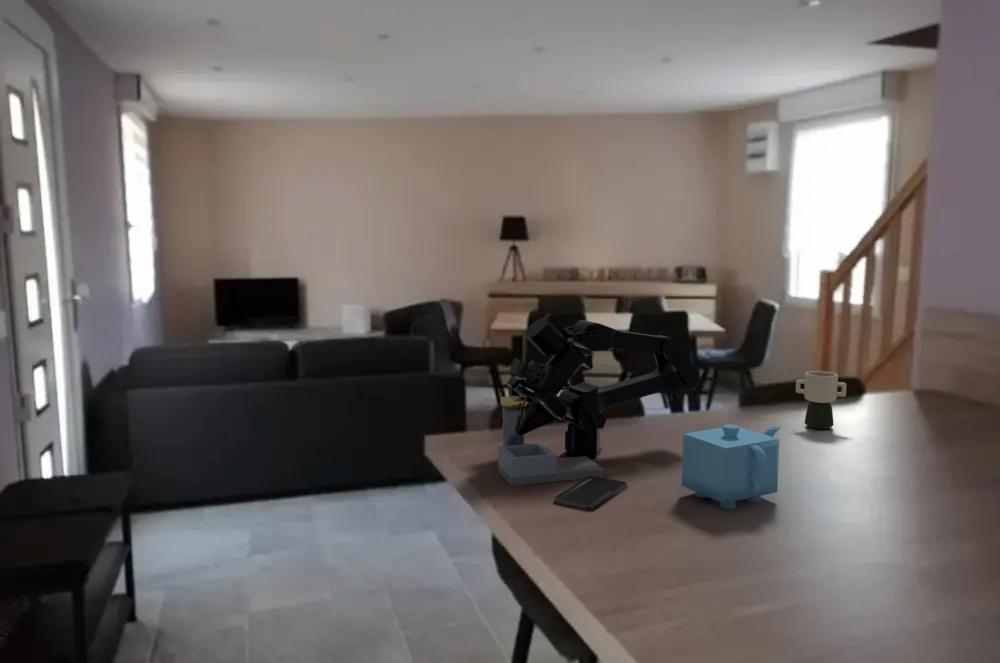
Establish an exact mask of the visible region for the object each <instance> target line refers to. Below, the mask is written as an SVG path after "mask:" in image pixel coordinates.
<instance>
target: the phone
mask: <svg viewBox="0 0 1000 663" xmlns="http://www.w3.org/2000/svg"><path fill="white" fill-rule="evenodd" d="M626 489H628V482H626V481H622V480H618V479H611V478H605V477H597V476H590V477H588V478H584V479H582V480H581V481H580V482H578V483H576V484H574V485H573V486H571V487H569V488H568V489H566V490H564V491H562V492H561V493H559V494H558V495H556V496H554V504H556V505H561V506H565V507H568V508H574V509H578V510H583V511H587V512H591V511H593V512H594V511H596V510H597V509H599V508H601V507H602V506H604V505H605V504H606V503H608V502H609V501H610V500H613V498H615V497H617V495H619V494H621V493H622V492H623V491H624V492H625V490H626Z"/></svg>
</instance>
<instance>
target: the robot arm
mask: <svg viewBox="0 0 1000 663" xmlns="http://www.w3.org/2000/svg"><path fill="white" fill-rule="evenodd" d="M525 337H526V338H527V340H529V341H530V342H531V344H532V345H533V346H535V348H537V350H538V351H539V352H540V353H542V355H543V356H552V357H551V358H550V359H549V360H548V361H546V363H540V362H538V361H535V360H532V359H531V360H530V361H529V362H526V361H522V360H521V359H517V358H514V359H513V362H512V363H511V366H510V368H509V370H508V373H509V374H512V375H514V376H511V378H510V379H509V380H507V382H506V385H507V387H506V389H507V391H508V396H521V397H525V398H527V405H526V406H525V411H526V410H528V409H530V408H531V409H530V411H529V412H528V415H526V417H525V420H524V421H523V423H522V424H521V426H520V427H519V429H518V430H517V433H518V434H519V435H520V436H522V435H524V434H525V435H526V434H528V433H530V432H532V431H534V430H536V429H539V428H540V427H543V426H545V425H548V424H550V423H553V422H555V423H556V422H557V421H558V419H559V420H561V421H563V420H564V422H566V423H568V425H567V430H566V431H564V450H565V453H564V454H565V457H581V456H587V457H588V458H589V459H597V457H598V456H599V454H601V452H602V450H603V449H602V447H601V444H600V443H601V429H604V428H605V424H606V422H607V418H606V417H605V415H603V411H605V409H607V408H610V407H615V406H618V405H620V404H625V403H627V402H630V401H635V400H638V399H640V398H644V397H647V396H651V395H654V394H658V393H661V392H671V393H672V392H673V393H674V392H675V393H677V392H678V393H679V392H681V393H682V392H688V391H692V390H695V389H696V388H697V385H698V384H699V381H700V377H701V376H700V371H699V369H698V368H697V366H695V365H694V364H693V363H692V361H691V360H690V358H689V357H688V356H687V355H686V354H685V353H684V352H683V351H682V350H681V349H680V347H679V346H678V344H677V343H676V341H675V340H674V339H673V338H672V337H669V336H665V335H661V334H658V335H654V334H645V333H639V332H631V331H624V330H617V329H615V328H613V327H611V326H610V327H609V326H607V325H605V324H602V323H598V322H596V321H595V322H594V321H589V320H586V319H584V320H583V319H580V320H578V321H576V322H575V323H574V324H573V326H568V327H563V326H562V325H561V324H560V323H559V322H558V320H557V319H556V316H554V315H553V314H550V313H546V314H545V315H544V316H543V317H540V318H539V319H537V320H536V321H535V322H532V323H531V324H530V325H529V327H528V328H527V329H526V332H525ZM570 342H571V343H573V346H572V345H571V344H570ZM582 349H584V350H585V349H586V350H589V351H592V352H599V351H600V352H601V351H609V350H615V349H616V350H617V349H621V350H622V349H623V350H627V351H638V352H643V353H652V354H653V355H654V361H655V364H656V366H657V367H656V368H655V369H654V370H653V371H652V372H650V373H646V374H642V375H639V376H636V377H632V378H628V379H625V380H622V381H618V382H614V383H611V384H608V385H603V386H600V387H598V386H596V385H594V384H591V383H589V382H585V381H584V382H583V381H582V382H579V383H578V384H575V385H571V384H569V383H568V382H569V381H570V380H571V379H572V377H573V376H574V375H575V374H576V373H577V371H579V370H580V368H581V367H584V368H588V369H590V370H592V369H593V368H594V366H593V355H592V354H588V353H584V352H583V350H582ZM563 389H564V390H563ZM558 394H559V396H558ZM498 423H499V424H500V425H502V426H503V412H502V414H501V416H500V418H499V420H498Z"/></svg>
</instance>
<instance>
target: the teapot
mask: <svg viewBox="0 0 1000 663" xmlns="http://www.w3.org/2000/svg"><path fill="white" fill-rule="evenodd" d="M781 428H782V427H781V426H779V425H775V426H770V427H768V428H767V429H766V430H765V431H764V433H761V432H758V431H754V430H750V429H749V428H748V429H747V428H744V427H741V426H738V425H735V424H728V423H727V424H723V425H722V426H721V427H719V428H718V427H717V428H716V427H715V428H711V429H705V430H698V431H692V432H688V433H687V432H686V433H684V434H682V454H681V455H682V459H681V460H682V461H681V463H682V464H681V486H682V487H684V488H686V489H689V490H690V491H694V492H695V493H694V496H695V497H698V498H702V499H703V498H704V499H705V498H709V499H711V500H713V501H716V502H718V503H720V505H719V507H721V508H722V509H725V510H734V509H736V508H737V507H736V502H740V501H742V500H743V501H744V500H747V501H748V502H750V503H753V504H754V503H756V504H759V503H763V502H764V500H763V498H762V496H766V495H771V494H774V493H777V492H778V480H779V463H780V462H779V457H780V439H779V438H777V437H775V434H777V432H778V431H779V430H780V429H781Z"/></svg>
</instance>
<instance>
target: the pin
mask: <svg viewBox="0 0 1000 663" xmlns="http://www.w3.org/2000/svg"><path fill="white" fill-rule="evenodd" d="M526 405H527V398H525V397H521V396H509V395H506V396H502V397H500V406H501V407H502V413H503V425H502V446H511V445H523V444H525V443H526V442H525V440H526V438H525V437H526V436H525V435H526V434H524V435H522V436H520V435H519V434H518V433H517V430H518V429H519V427H520V426H521V424H522V423H523V421H524V420H525V418H526V417H525V415H526V414H525V413H526V412H525V411H526V410H525V406H526Z"/></svg>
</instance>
